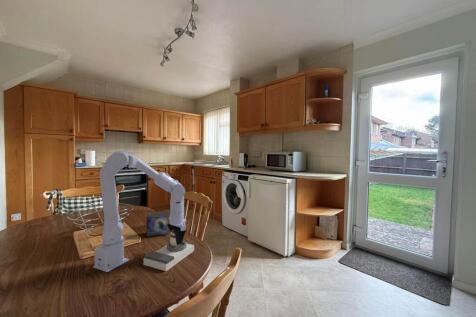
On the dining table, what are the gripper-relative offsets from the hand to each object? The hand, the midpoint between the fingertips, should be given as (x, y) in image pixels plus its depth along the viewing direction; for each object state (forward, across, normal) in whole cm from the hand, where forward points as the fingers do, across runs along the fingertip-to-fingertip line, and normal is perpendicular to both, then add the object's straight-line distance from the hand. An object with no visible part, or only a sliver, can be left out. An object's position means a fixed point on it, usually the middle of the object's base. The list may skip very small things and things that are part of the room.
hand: (176, 242), depth 93 cm
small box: (+5, +26, 0) cm, 27 cm away
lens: (+2, 0, 0) cm, 2 cm away
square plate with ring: (+5, -2, +3) cm, 6 cm away
